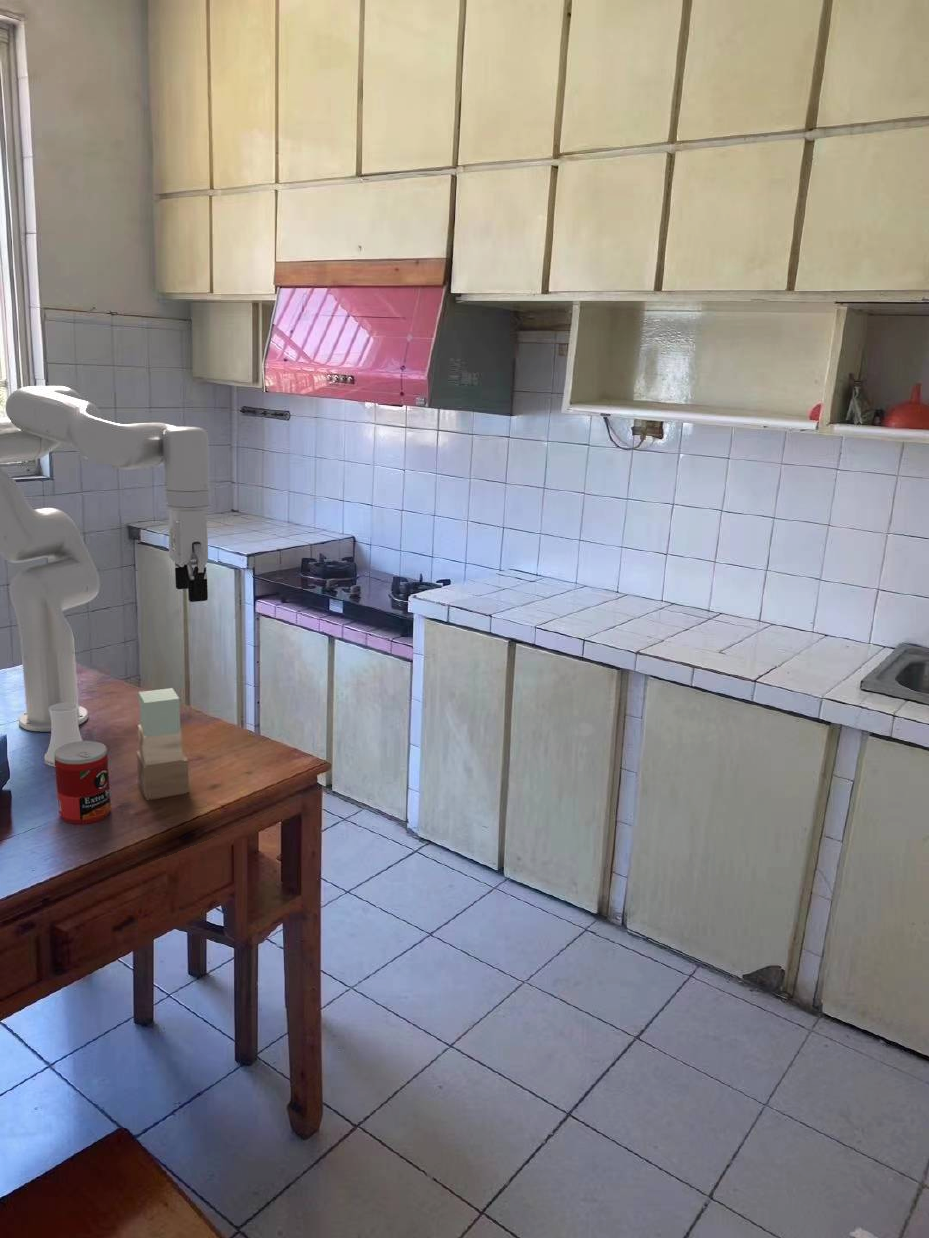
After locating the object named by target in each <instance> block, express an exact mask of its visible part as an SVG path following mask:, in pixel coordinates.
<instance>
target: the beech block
mask: <svg viewBox="0 0 929 1238" xmlns="http://www.w3.org/2000/svg"><path fill="white" fill-rule="evenodd" d="M137 731H138V732H137V733H138V749H139V750H138V751H139V752H140V755H141V757H142V759H143V761H144V764H145V766H147V765H154V764H160V763H167V762H173V761H180V760H183V758H182V752H183V737H182V731H181V732H179V733H172V734H165V735H159V736H152V737H146V735H145V733H144V731H143V729H142V727H141V725H140V724H137Z"/></svg>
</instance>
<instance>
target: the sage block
mask: <svg viewBox="0 0 929 1238" xmlns="http://www.w3.org/2000/svg"><path fill="white" fill-rule="evenodd" d="M138 703H139V721H140V724H139V725H141V727H142V729H143V731H144V733H145V735H146V737H152V736H159V735H165V734H172V733H179V732H181V733H182V731H181V730H182V729H181V708H180V705H181V704H180V697H179V696H178V694H177V692H175V690H174V687H169V688H163V689H162V688H160V689H154V690H145V691H138Z"/></svg>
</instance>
